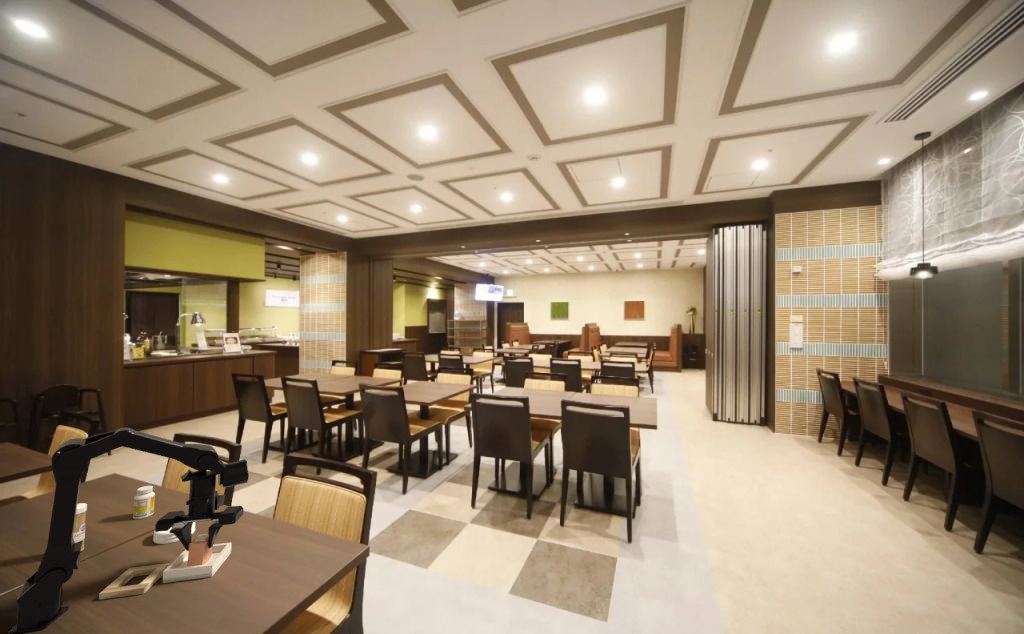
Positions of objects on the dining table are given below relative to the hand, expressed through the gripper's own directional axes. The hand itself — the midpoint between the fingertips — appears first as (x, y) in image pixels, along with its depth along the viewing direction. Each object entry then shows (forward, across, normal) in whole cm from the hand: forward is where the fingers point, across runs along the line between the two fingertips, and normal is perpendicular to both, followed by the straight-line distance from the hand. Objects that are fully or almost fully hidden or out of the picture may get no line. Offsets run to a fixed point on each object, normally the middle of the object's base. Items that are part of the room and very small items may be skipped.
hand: (199, 548), depth 104 cm
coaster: (+6, +16, -20) cm, 26 cm away
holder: (+5, +12, +4) cm, 14 cm away
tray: (+5, 0, 0) cm, 5 cm away
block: (+4, 0, 0) cm, 4 cm away
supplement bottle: (+5, +34, -37) cm, 51 cm away
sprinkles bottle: (+5, +39, -16) cm, 42 cm away
